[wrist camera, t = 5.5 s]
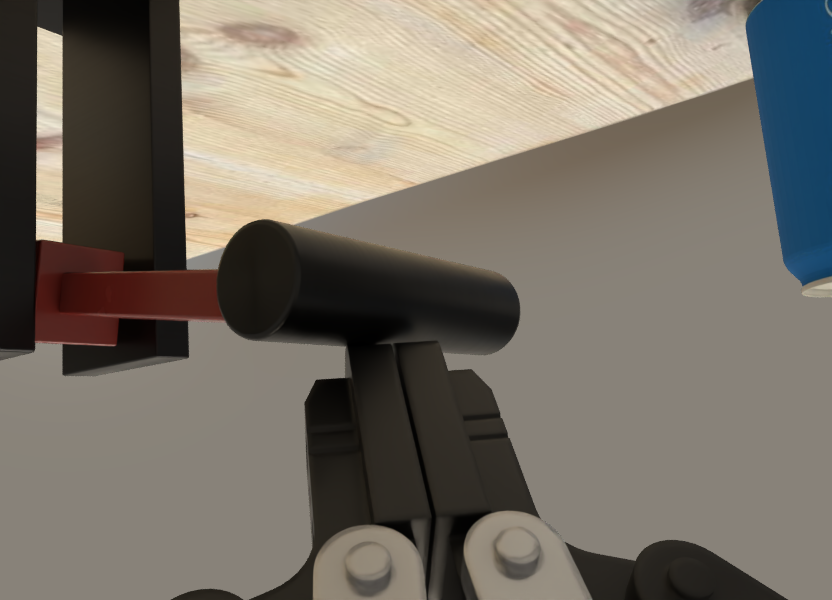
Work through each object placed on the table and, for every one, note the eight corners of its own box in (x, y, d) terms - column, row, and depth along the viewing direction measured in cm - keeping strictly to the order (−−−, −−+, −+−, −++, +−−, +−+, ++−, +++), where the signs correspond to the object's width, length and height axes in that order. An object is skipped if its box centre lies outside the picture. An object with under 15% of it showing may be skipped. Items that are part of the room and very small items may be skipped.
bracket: (-13, -408, 15) (-27, 315, 12) (320, -146, 22) (352, 342, 19) (-220, -109, 22) (-254, 388, 19) (85, 15, 29) (86, 388, 26)
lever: (304, 188, 10) (289, 370, 10) (525, 251, 15) (518, 376, 15) (-100, 230, 18) (-111, 333, 18) (129, 263, 23) (122, 345, 23)
